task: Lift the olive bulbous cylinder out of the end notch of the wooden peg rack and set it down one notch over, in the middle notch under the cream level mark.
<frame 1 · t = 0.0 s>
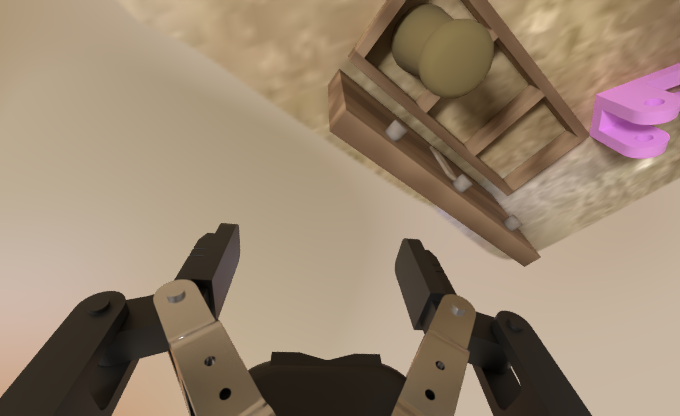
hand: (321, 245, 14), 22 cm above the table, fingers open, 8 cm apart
olive bulbous cylinder: (420, 40, 28), resting in wooden peg rack
wooden peg rack: (474, 95, 32), on the table
bracket: (652, 92, 33), on the table
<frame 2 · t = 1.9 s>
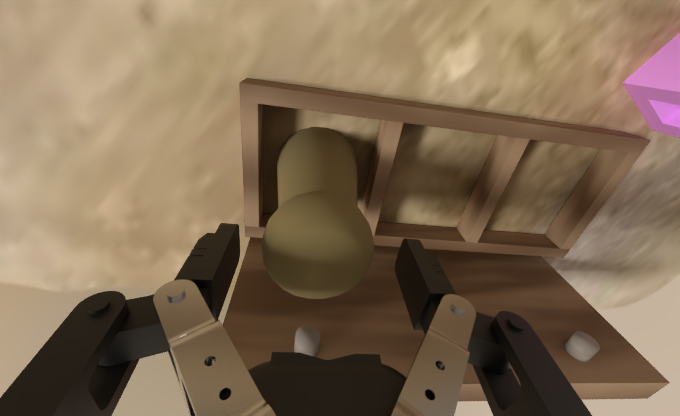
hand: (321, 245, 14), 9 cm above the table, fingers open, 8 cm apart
olive bulbous cylinder: (317, 165, 21), resting in wooden peg rack
wooden peg rack: (429, 178, 22), on the table
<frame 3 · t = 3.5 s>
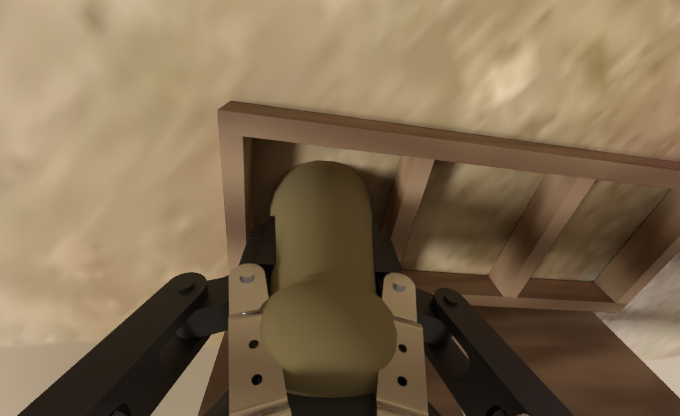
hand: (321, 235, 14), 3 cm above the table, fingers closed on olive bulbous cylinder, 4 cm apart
olive bulbous cylinder: (321, 206, 17), resting in wooden peg rack, touching gripper
wooden peg rack: (460, 221, 18), on the table
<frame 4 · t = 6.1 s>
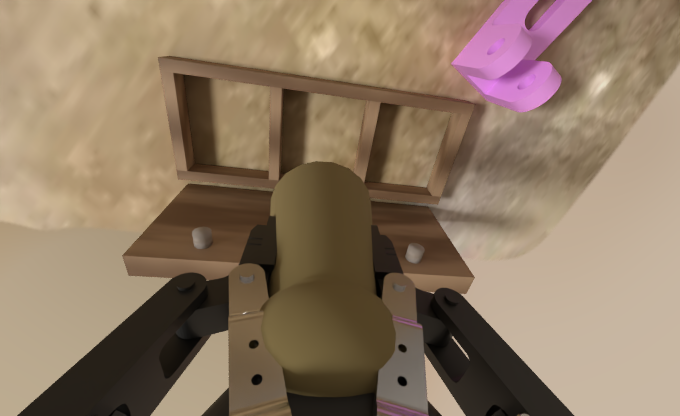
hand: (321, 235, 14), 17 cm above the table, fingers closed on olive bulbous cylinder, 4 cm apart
olive bulbous cylinder: (321, 206, 17), point 14 cm above the table, touching gripper
wooden peg rack: (321, 137, 29), on the table
bracket: (524, 19, 25), on the table
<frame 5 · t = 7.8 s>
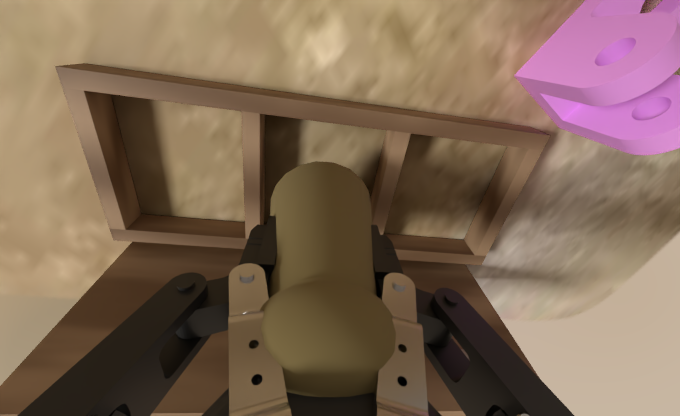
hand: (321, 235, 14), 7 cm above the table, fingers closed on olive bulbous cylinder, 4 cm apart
olive bulbous cylinder: (321, 206, 17), point 4 cm above the table, touching gripper
wooden peg rack: (320, 177, 20), on the table
bracket: (630, 8, 16), on the table
when the fingers open (5 cm above the table, at t = 9.0 s): olive bulbous cylinder drops 2 cm, resting in wooden peg rack.
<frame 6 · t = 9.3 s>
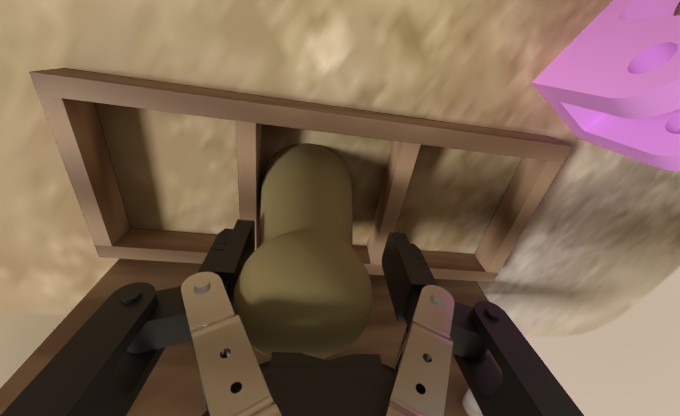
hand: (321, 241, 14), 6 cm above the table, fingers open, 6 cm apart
olive bulbous cylinder: (307, 186, 19), resting in wooden peg rack, touching gripper
wooden peg rack: (322, 190, 19), on the table
bracket: (659, 10, 15), on the table
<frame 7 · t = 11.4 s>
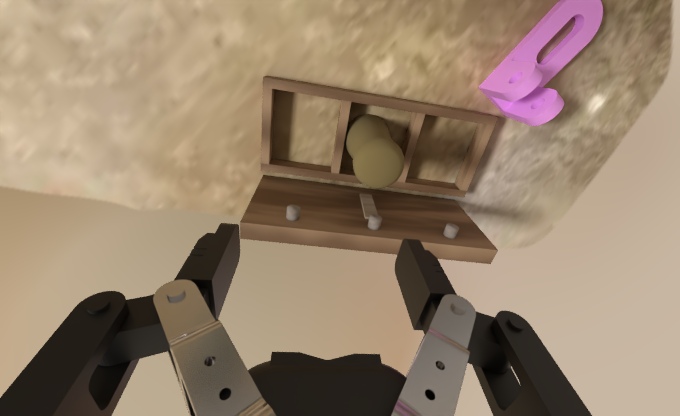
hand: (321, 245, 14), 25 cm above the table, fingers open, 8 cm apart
olive bulbous cylinder: (366, 137, 36), resting in wooden peg rack
wooden peg rack: (373, 140, 36), on the table
bracket: (535, 55, 33), on the table
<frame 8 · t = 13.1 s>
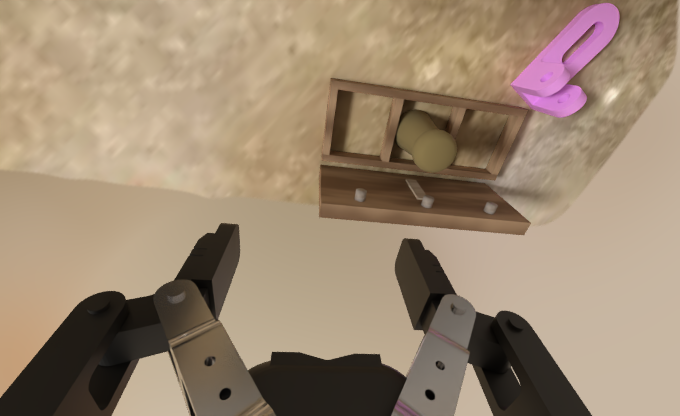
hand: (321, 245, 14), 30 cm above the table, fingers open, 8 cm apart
olive bulbous cylinder: (411, 130, 42), resting in wooden peg rack
wooden peg rack: (418, 132, 42), on the table
bracket: (560, 56, 38), on the table
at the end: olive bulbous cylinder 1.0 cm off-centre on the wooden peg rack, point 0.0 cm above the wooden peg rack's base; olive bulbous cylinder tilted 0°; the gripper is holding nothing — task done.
